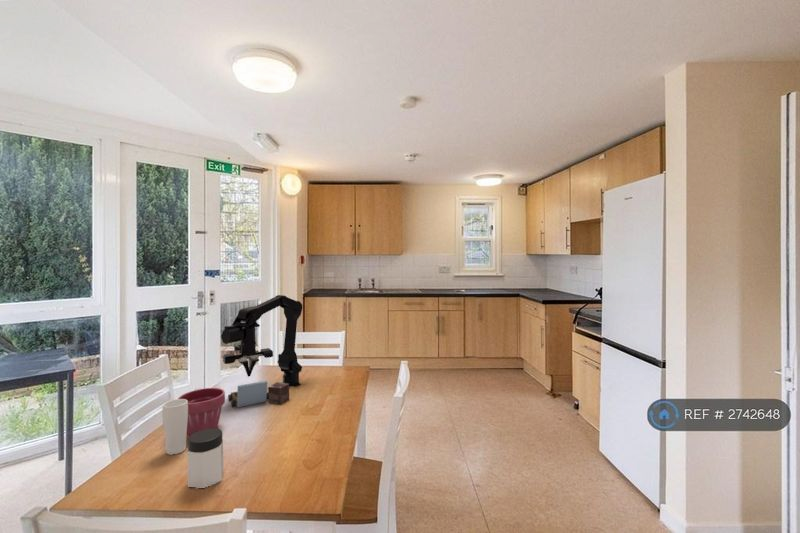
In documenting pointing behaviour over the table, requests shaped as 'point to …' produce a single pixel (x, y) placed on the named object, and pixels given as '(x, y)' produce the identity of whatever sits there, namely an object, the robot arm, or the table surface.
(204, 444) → the jar
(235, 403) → the bed
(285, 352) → the robot arm
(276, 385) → the box
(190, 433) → the plant pot
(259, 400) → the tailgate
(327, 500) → the table surface
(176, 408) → the drinking glass
